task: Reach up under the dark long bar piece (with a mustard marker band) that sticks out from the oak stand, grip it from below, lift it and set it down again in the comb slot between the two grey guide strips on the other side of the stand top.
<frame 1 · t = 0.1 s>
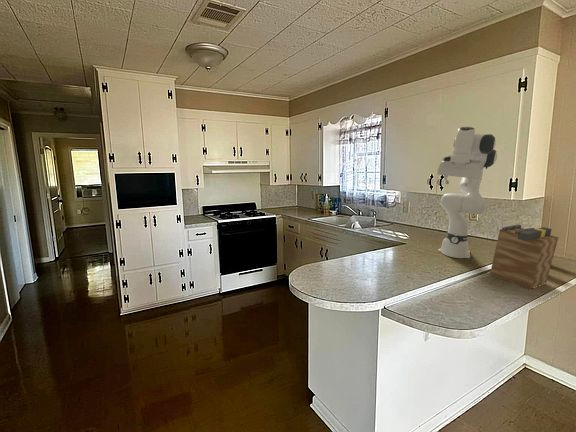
hand: (456, 185, 171), 48 cm above the worktop, tool pointing down, fingers open, 8 cm apart
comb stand: (517, 278, 174), on the worktop
dark long bar piece: (534, 237, 161), point 26 cm above the worktop, touching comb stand
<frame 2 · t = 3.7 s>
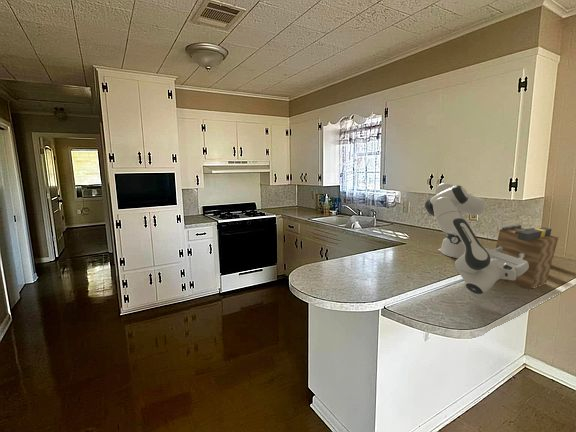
hand: (511, 250, 153), 21 cm above the worktop, tool pointing upward, fingers open, 8 cm apart
nothing on the worktop moved.
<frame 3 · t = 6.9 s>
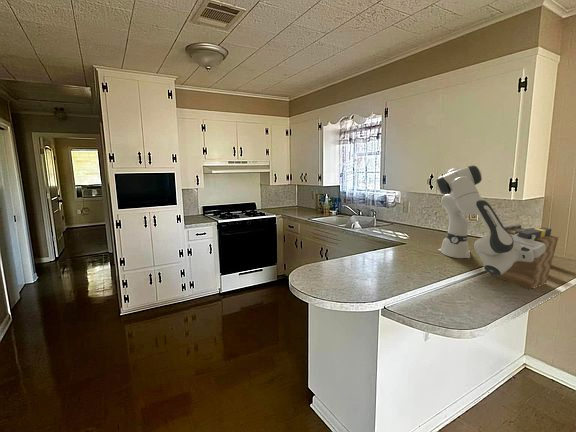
hand: (528, 234, 157), 28 cm above the worktop, tool pointing upward, fingers closed on dark long bar piece, 3 cm apart
dark long bar piece: (534, 237, 161), point 26 cm above the worktop, touching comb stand, gripper
everything else where it was.
when the fingers open (29 cm above the worktop, at t = 11.0 s): dark long bar piece stays where it is, resting on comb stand.
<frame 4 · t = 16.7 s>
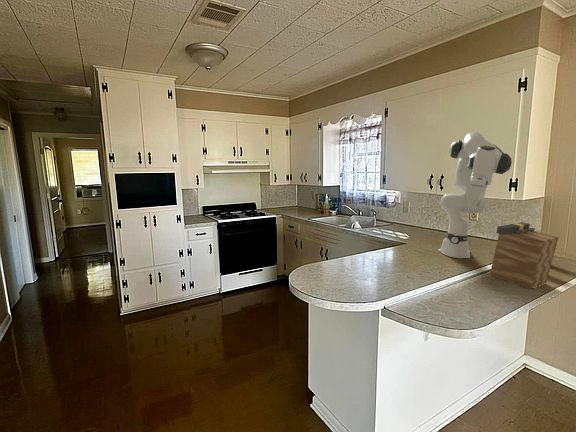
hand: (475, 207, 159), 39 cm above the worktop, tool pointing down, fingers open, 8 cm apart
dark long bar piece: (512, 231, 169), point 26 cm above the worktop, touching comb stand
everything else where it was.
at the end: dark long bar piece inside the target area on the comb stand (0.1 cm from its centre), point 26.0 cm above the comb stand's base; dark long bar piece touching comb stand; the gripper is holding nothing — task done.
